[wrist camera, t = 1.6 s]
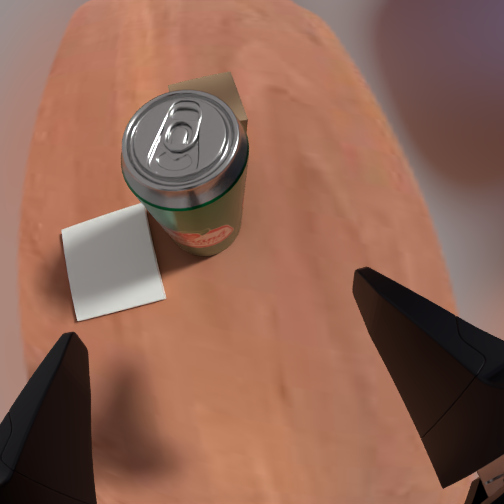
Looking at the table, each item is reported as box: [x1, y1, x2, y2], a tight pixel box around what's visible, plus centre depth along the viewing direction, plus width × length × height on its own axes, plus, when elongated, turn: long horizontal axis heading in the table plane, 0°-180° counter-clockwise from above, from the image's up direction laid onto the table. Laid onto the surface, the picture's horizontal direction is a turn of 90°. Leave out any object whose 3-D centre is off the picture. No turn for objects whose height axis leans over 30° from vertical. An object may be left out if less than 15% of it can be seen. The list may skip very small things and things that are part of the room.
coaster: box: [62, 203, 166, 321], centre depth 21 cm, size 7×7×1 cm
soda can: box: [121, 90, 249, 256], centre depth 16 cm, size 5×5×12 cm
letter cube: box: [168, 72, 248, 132], centre depth 21 cm, size 4×5×4 cm
